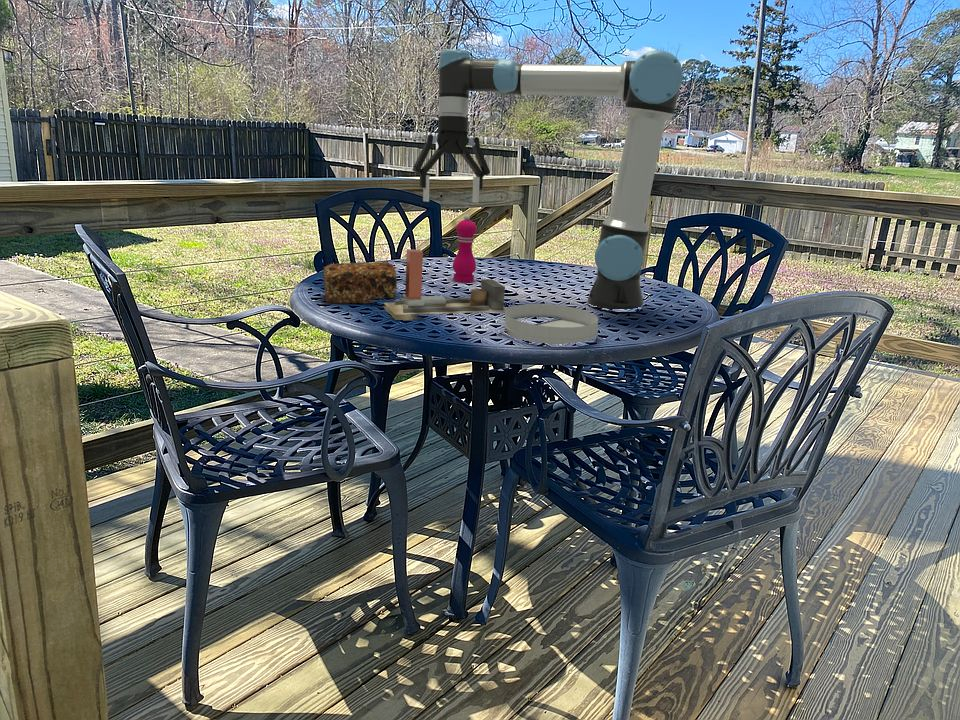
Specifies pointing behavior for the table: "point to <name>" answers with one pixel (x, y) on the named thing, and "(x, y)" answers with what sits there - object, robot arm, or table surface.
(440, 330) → the table surface
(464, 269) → the pepper mill
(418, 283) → the carriage
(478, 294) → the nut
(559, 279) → the table surface
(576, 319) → the dish
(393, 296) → the bread
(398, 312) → the board
